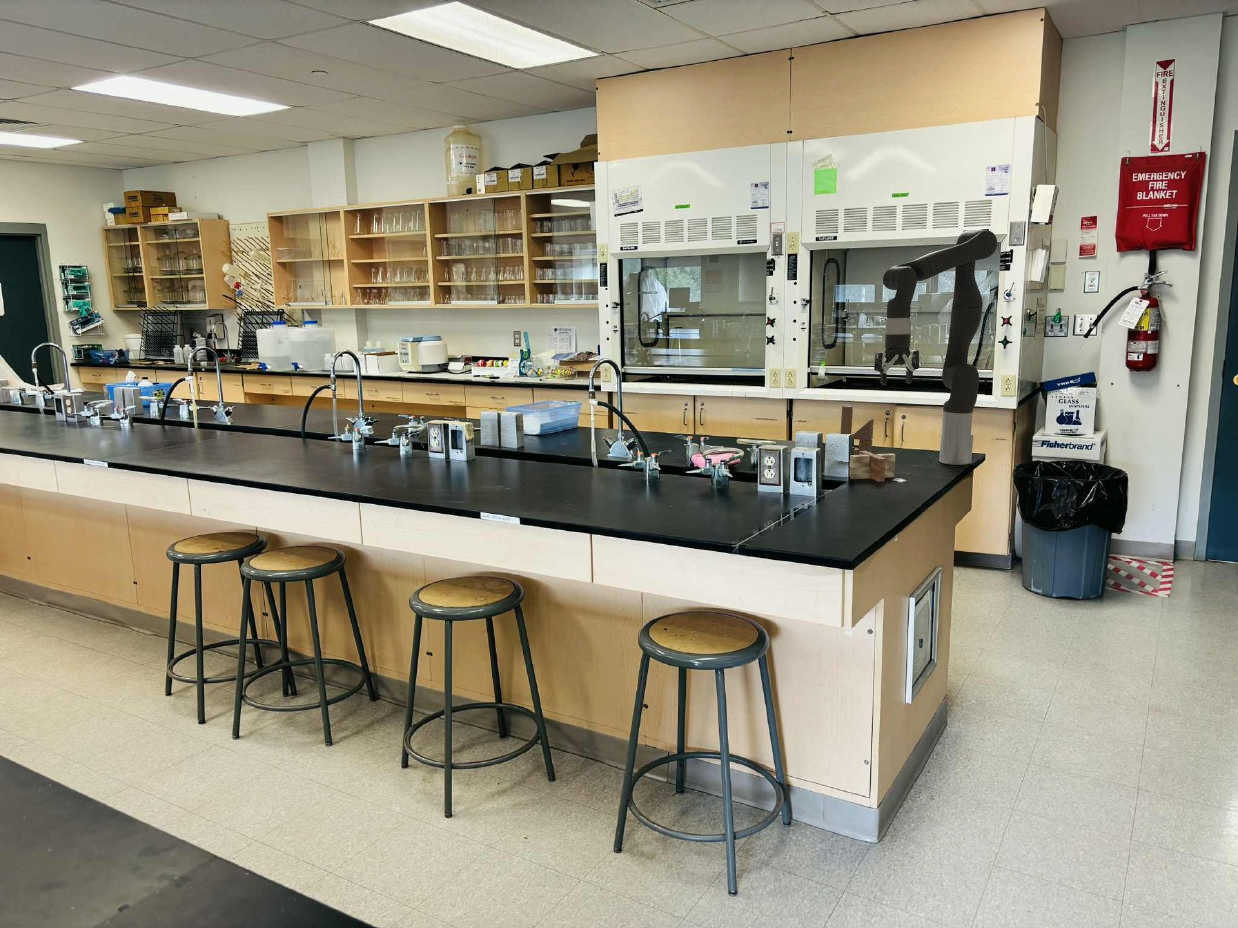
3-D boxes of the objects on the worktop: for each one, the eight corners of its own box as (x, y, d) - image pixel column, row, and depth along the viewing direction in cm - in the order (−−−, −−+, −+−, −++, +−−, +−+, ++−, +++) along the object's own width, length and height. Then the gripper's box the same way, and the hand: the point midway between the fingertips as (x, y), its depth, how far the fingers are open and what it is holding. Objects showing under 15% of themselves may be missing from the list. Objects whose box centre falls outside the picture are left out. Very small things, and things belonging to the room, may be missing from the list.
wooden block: (868, 461, 289) (871, 408, 286) (837, 458, 295) (839, 406, 292) (871, 460, 292) (874, 407, 289) (840, 456, 298) (843, 404, 295)
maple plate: (890, 475, 269) (891, 453, 267) (894, 477, 267) (895, 454, 265) (848, 477, 266) (850, 455, 265) (852, 479, 264) (853, 456, 262)
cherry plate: (864, 472, 273) (865, 450, 272) (884, 481, 261) (886, 458, 259) (857, 472, 273) (859, 450, 271) (877, 481, 260) (879, 459, 259)
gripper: (911, 330, 274) (910, 381, 277) (871, 332, 271) (869, 384, 274) (925, 332, 267) (923, 384, 270) (883, 334, 264) (881, 386, 267)
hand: (896, 384), depth 272 cm, fingers open, 8 cm apart
